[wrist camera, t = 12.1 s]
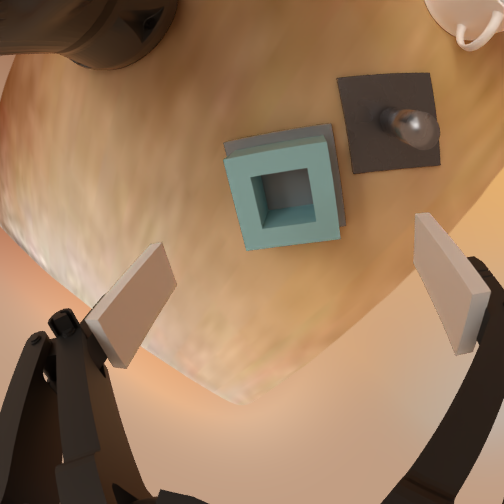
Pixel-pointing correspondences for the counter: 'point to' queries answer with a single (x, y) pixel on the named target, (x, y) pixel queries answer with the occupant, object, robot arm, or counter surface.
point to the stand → (390, 121)
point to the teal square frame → (292, 218)
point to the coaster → (294, 181)
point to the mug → (469, 19)
